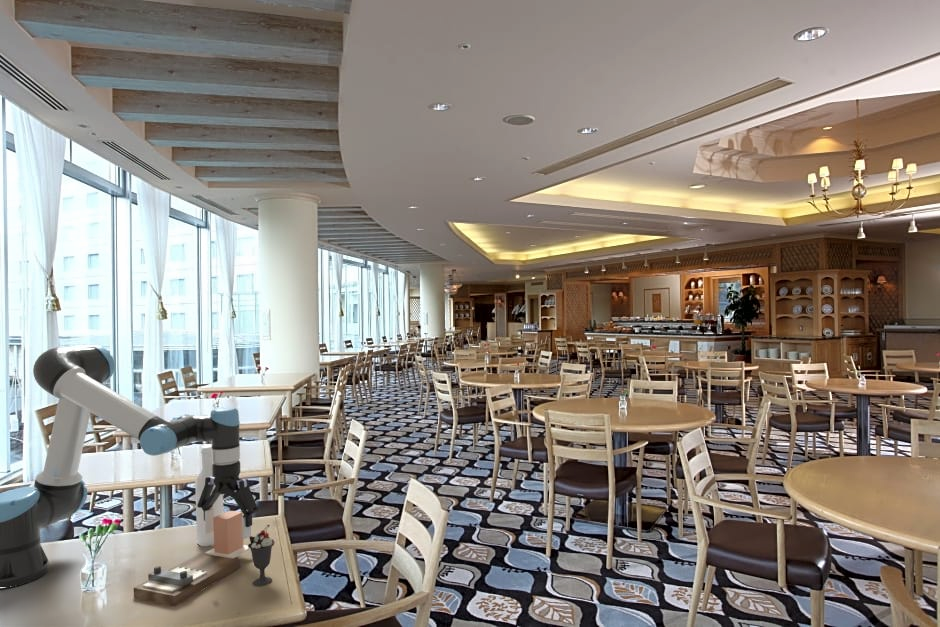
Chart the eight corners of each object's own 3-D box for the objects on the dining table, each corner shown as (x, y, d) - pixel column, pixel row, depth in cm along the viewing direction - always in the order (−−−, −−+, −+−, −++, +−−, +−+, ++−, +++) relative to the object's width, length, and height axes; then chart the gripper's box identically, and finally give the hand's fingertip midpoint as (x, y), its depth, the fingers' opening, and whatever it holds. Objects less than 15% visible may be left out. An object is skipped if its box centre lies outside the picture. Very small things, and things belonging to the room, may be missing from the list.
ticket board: (133, 597, 146) (133, 574, 146) (202, 561, 167) (201, 541, 167) (175, 606, 141) (174, 582, 141) (240, 567, 162) (240, 547, 162)
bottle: (200, 549, 176) (197, 450, 176) (194, 541, 182) (190, 446, 182) (228, 541, 181) (224, 446, 181) (220, 534, 187) (217, 442, 187)
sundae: (280, 581, 153) (278, 525, 153) (255, 590, 148) (253, 532, 148) (269, 573, 158) (267, 518, 157) (245, 582, 153) (243, 525, 153)
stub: (205, 554, 165) (204, 517, 165) (225, 543, 173) (224, 508, 172) (232, 558, 162) (231, 521, 162) (252, 547, 169) (251, 512, 169)
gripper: (269, 461, 166) (271, 535, 166) (203, 455, 175) (205, 525, 175) (251, 468, 159) (253, 545, 159) (183, 461, 168) (184, 534, 168)
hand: (228, 534), depth 167 cm, fingers open, 13 cm apart
